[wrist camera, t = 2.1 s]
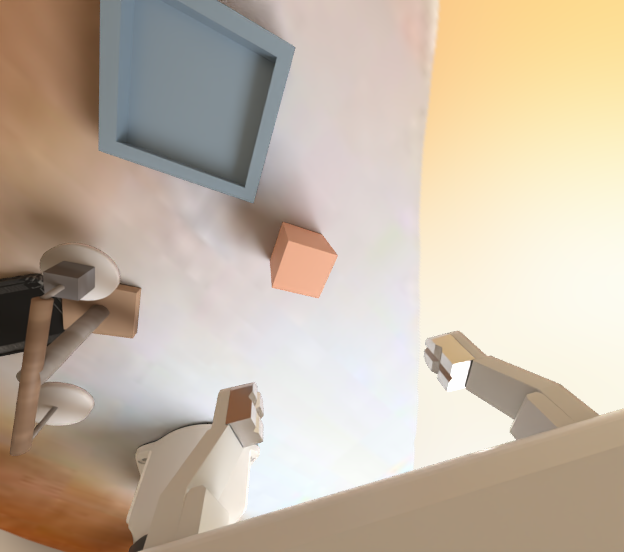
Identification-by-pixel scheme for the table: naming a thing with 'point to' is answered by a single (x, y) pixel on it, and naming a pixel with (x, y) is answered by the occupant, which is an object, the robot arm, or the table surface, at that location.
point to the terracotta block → (301, 261)
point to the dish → (190, 90)
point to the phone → (23, 312)
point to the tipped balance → (68, 335)
